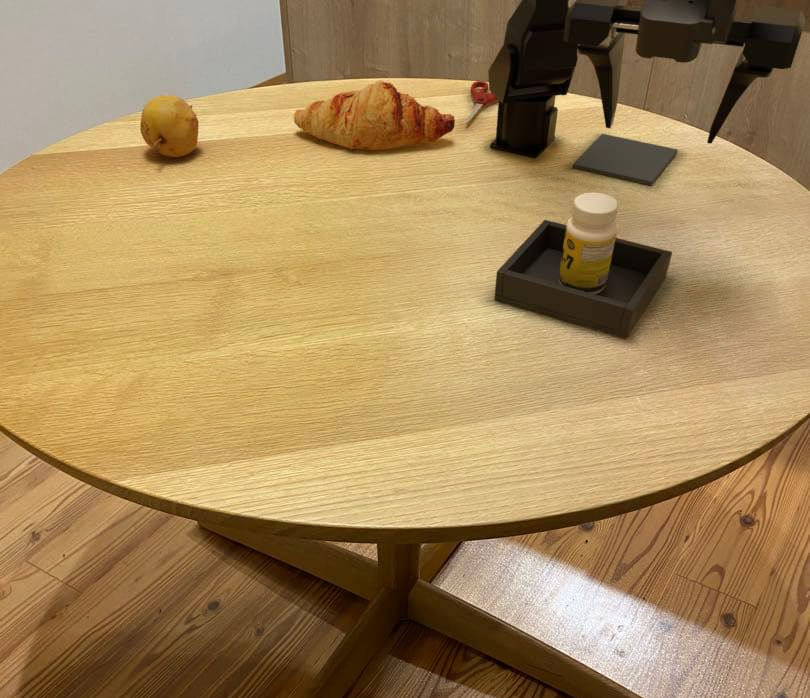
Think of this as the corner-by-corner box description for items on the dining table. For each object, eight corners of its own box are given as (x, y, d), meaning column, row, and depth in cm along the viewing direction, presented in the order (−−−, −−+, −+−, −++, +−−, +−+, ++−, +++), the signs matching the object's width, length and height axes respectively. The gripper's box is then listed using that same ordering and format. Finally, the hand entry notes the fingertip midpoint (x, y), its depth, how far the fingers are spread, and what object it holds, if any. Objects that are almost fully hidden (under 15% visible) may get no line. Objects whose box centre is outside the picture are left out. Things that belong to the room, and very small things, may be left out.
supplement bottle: (554, 272, 80) (566, 190, 74) (601, 271, 80) (616, 189, 74) (561, 298, 77) (574, 215, 71) (609, 297, 77) (627, 214, 71)
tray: (494, 299, 78) (496, 271, 76) (541, 247, 85) (544, 219, 82) (626, 339, 74) (633, 310, 71) (665, 280, 80) (672, 251, 78)
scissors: (511, 91, 113) (511, 83, 112) (486, 129, 104) (486, 121, 103) (474, 86, 114) (474, 79, 113) (446, 124, 105) (446, 116, 105)
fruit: (176, 125, 93) (213, 91, 99) (121, 103, 93) (161, 71, 99) (176, 179, 98) (211, 144, 104) (124, 159, 98) (163, 125, 104)
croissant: (293, 168, 105) (277, 124, 97) (305, 104, 107) (290, 55, 100) (451, 175, 102) (448, 129, 95) (460, 108, 105) (458, 59, 97)
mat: (572, 167, 97) (572, 163, 96) (601, 137, 103) (602, 133, 102) (651, 185, 94) (652, 181, 93) (677, 153, 99) (677, 149, 99)
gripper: (557, -63, 59) (534, 153, 70) (825, -40, 54) (752, 189, 65) (595, -95, 65) (568, 107, 77) (836, -77, 60) (768, 136, 72)
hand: (658, 134), depth 73 cm, fingers open, 9 cm apart
